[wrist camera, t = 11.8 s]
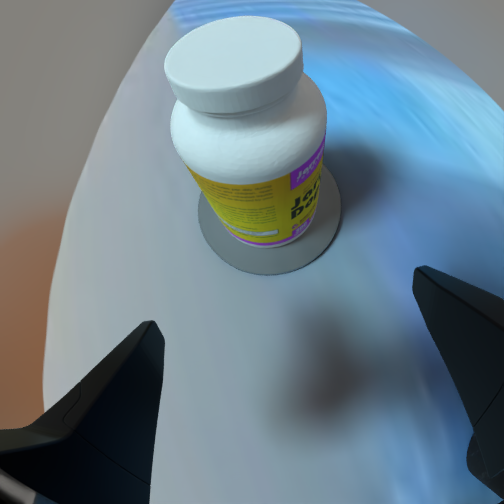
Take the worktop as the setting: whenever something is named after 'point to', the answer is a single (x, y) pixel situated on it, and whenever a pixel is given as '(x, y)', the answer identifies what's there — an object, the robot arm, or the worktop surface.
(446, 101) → the worktop surface
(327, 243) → the slate coaster
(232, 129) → the supplement bottle
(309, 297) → the worktop surface
